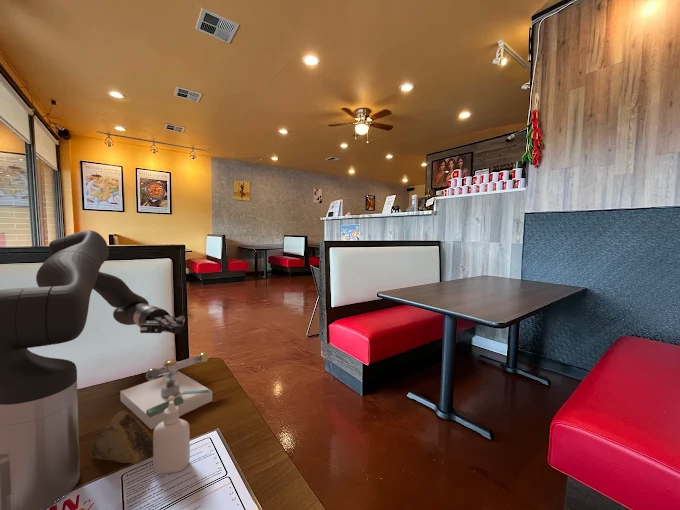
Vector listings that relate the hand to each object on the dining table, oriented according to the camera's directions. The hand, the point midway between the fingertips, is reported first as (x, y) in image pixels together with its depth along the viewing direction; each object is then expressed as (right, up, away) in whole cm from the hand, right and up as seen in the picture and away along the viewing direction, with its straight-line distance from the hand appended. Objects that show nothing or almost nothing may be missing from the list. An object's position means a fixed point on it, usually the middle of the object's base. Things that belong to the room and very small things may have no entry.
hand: (177, 329), depth 82 cm
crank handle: (+6, -11, -9) cm, 15 cm away
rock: (+6, -17, -27) cm, 33 cm away
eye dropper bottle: (+16, -17, -30) cm, 38 cm away
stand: (+3, -16, -9) cm, 18 cm away
